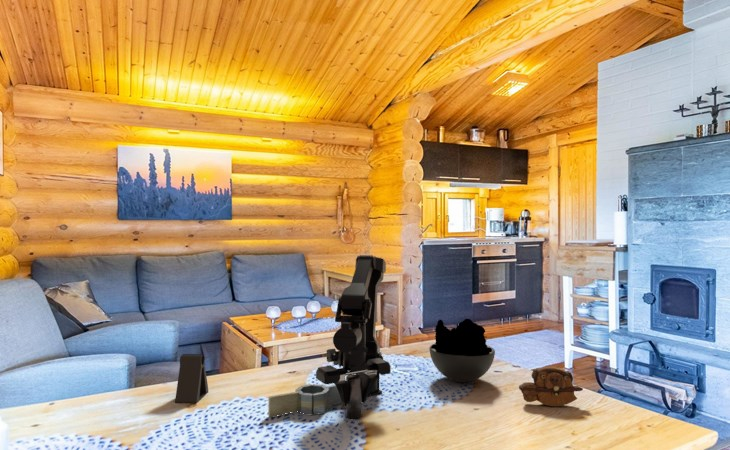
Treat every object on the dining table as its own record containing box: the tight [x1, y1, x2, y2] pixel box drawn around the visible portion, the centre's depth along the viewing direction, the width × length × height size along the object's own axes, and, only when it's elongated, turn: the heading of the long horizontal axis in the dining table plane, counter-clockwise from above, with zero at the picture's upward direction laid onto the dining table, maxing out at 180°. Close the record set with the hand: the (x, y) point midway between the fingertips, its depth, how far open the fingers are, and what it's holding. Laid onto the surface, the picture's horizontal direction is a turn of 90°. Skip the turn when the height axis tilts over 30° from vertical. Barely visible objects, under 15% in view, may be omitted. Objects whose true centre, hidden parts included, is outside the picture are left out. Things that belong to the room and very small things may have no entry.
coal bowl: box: [428, 318, 496, 383], centre depth 152 cm, size 20×20×19 cm
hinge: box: [267, 383, 343, 418], centre depth 128 cm, size 24×8×5 cm, turn 120°
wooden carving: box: [518, 366, 584, 407], centre depth 131 cm, size 16×5×10 cm, turn 89°
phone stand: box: [174, 353, 209, 404], centre depth 136 cm, size 9×6×12 cm, turn 178°
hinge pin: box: [345, 374, 363, 421], centre depth 123 cm, size 4×4×10 cm
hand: (353, 404), depth 123 cm, fingers open, 5 cm apart
